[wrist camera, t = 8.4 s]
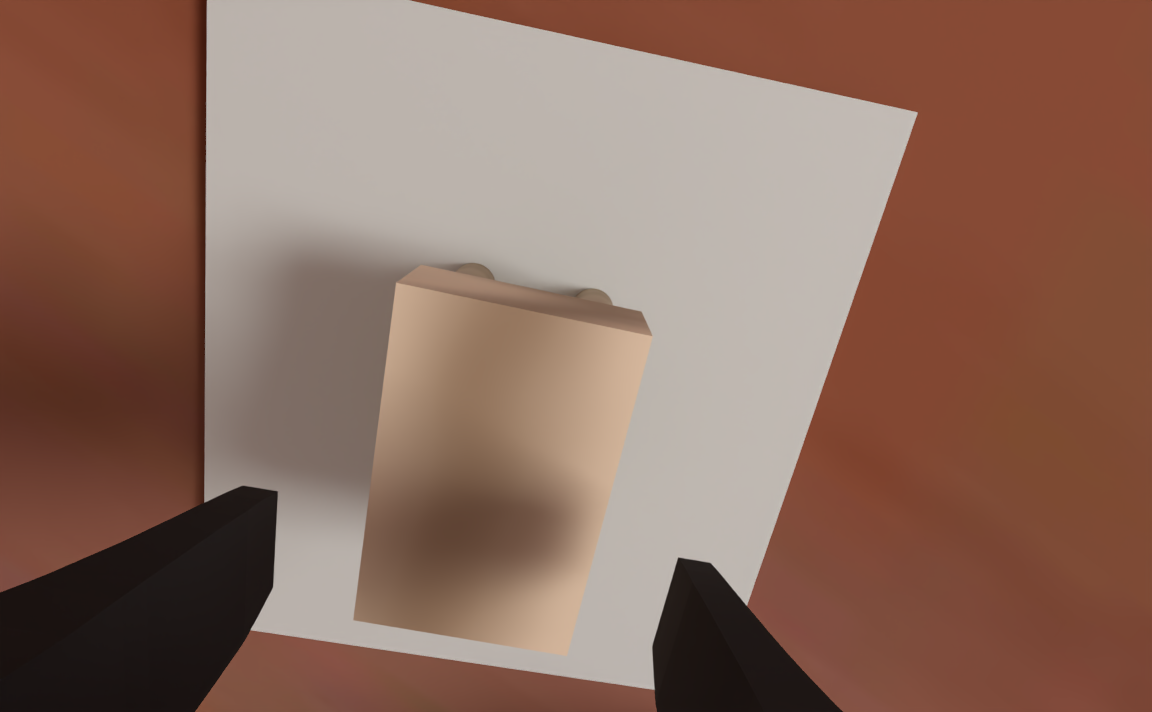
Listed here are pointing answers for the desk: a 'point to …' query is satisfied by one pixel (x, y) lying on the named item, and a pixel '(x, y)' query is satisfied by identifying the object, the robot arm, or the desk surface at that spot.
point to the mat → (521, 278)
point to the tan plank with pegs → (495, 456)
